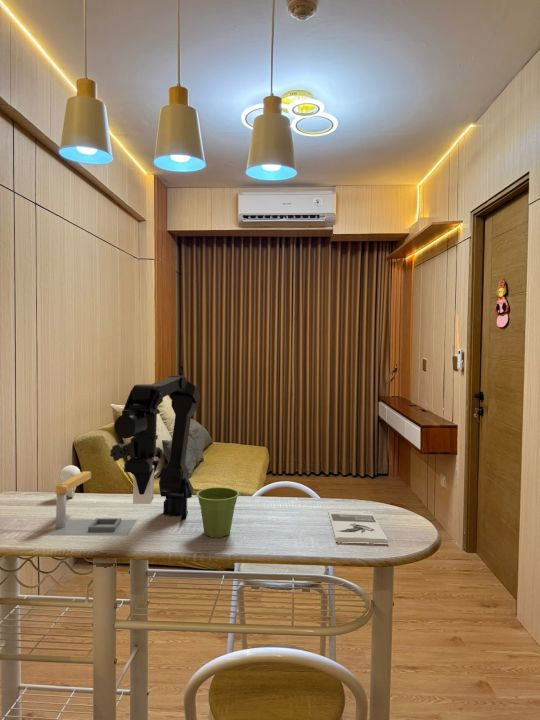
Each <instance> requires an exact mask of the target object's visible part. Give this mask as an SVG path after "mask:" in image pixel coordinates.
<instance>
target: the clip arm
mask: <svg viewBox="0 0 540 720" xmlns="http://www.w3.org/2000/svg"><path fill="white" fill-rule="evenodd" d="M80 472H81V471H80ZM90 479H92V471H85V470H84V471H82V472H81V473H79V474H77V475H76V476H74V477H72V478H70V479H68V480H66V481H64V482H60V483H57V484H55V494H56V495H57V494H65V493H67V492H68V491H70V490H71V489H73V488H75V487H76V488H77V487H78V486H80V485H81V484H83V483H85V482H87V481H88V480H90ZM76 488H75V489H76Z"/></svg>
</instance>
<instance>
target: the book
mask: <svg viewBox="0 0 540 720" xmlns="http://www.w3.org/2000/svg"><path fill="white" fill-rule="evenodd" d="M328 515H329V517H328V519H330V520H329V523H331V524H330V527H331V526H332V528H331V531H332V530H333V531H332V535H333V534H334V535H333V538H334V537H335V538H334V541H336V542H369V543H389V539H388V538H387V536H386V534H385V533H384V530H383V529H382V528H381V525H380V524H379V522H378V520H377V518H376V516H375V515H374V513H373V511H368V510H367V511H363V510H341V509H340V510H339V509H338V510H335V509H334V510H333V509H328V510H327V516H328ZM336 542H335V543H336Z"/></svg>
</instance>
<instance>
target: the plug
mask: <svg viewBox="0 0 540 720" xmlns="http://www.w3.org/2000/svg"><path fill="white" fill-rule="evenodd" d="M152 468H154V465H152ZM132 482H133V484H132V487H133V489H132V490H133V491H132V492H133V493H132V504H133V505H134V504H135V505H139V504H140V505H144V504H145V505H150V504H151V503H152V502H153V500H154V494H155V493H154V492H155V491H154V489H155V473H154V469H153V472H152V475H151V477H150V480H149V482H148V485H147V488H146V490H145V493H144V494H143V495H142V494H139V490H138V486H137V482H136V478H135V476H134V475H133V481H132Z"/></svg>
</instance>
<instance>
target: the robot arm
mask: <svg viewBox="0 0 540 720" xmlns="http://www.w3.org/2000/svg"><path fill="white" fill-rule="evenodd" d="M167 396H168V398H169V399H170V401H171V406H170V407H171V409H172V410H173V413H174V416H175V417H174V422H173V423H174V424H173V428H172V429H173V431H172V435H171V436H172V438H171V445H170V450H169V451H170V452H169V460H168V463H167V464H166V465H165V467H162V468H161V469H160V478H159V481H158V487H159V492H160V497H161V498H162V497H165V499H164V501H163V510H162V511H163V516H164V515H165V516H170V517H180V520H186V519H187V516H188V513H189V511H188V499H191V498H192V497H193V493H194V487H193V485H192V483H191V481H190V478H189V477H190V472H189V470H188V468H187V466H186V457H187V450H188V442H189V434H190V427H191V426H190V425H191V420H192V419H191V418H192V416H193V415H194V414H195V412H196V411H197V410H198V406H199V404H200V401H201V400H200V399H201V394H200V392H199V390H198V387H197V386H196V385H194V384H193V383H191V382H190V381H188V379H187V378H186V377H185V376H184V375H174V374H173V375H169V376H168V377H166V378H164V379H161V380H159V381H156V382H153V383H150V384H149V383H147V384H146V383H143V384H135V385H134V386H133V387H132V388H131V390H130V392H129V394H128V397H127V399H126V402H125V405H124V406H123V410H121V415H120V416H118V417H117V418H116V419H115V421H114V425H113V428H114V432H115V433H116V436H118V437H119V438H121V439H129V438H130V441H129V442H126V443H125V442H124V443H123V444H121V443H118V444H113V445H112V447H111V449H110V450H109V452H110V454H109V457H111V458H112V460H113V462H117V461H120V459H124V458H127V457H129V459H128V460H127V461H126V462H125V463H124V465H123V467H124V468H123V469H124V470H123V472H124V473H131V474H132V475H133V477H134V476H135V478H136V482H137V486H138V490H139V494H142V495H143V494H144V493H145V490H146V488H147V485H148V482H149V480H150V477H151V475H152V472H153V469H154V474H155V472H156V470H157V468H158V466H159V464H160V460H162V457H163V450H162V449H161V447H158V446H157V440H158V439H159V437H158V436H159V435H158V434H157V425H158V424H157V420H158V418H157V417H158V416H157V415H158V414H160V413H161V411H160V409H158V407H159V405H161V404H162V403H163V402H164V397H167ZM155 458H157V460H155ZM158 459H159V460H158ZM152 465H154V468H152Z"/></svg>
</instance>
